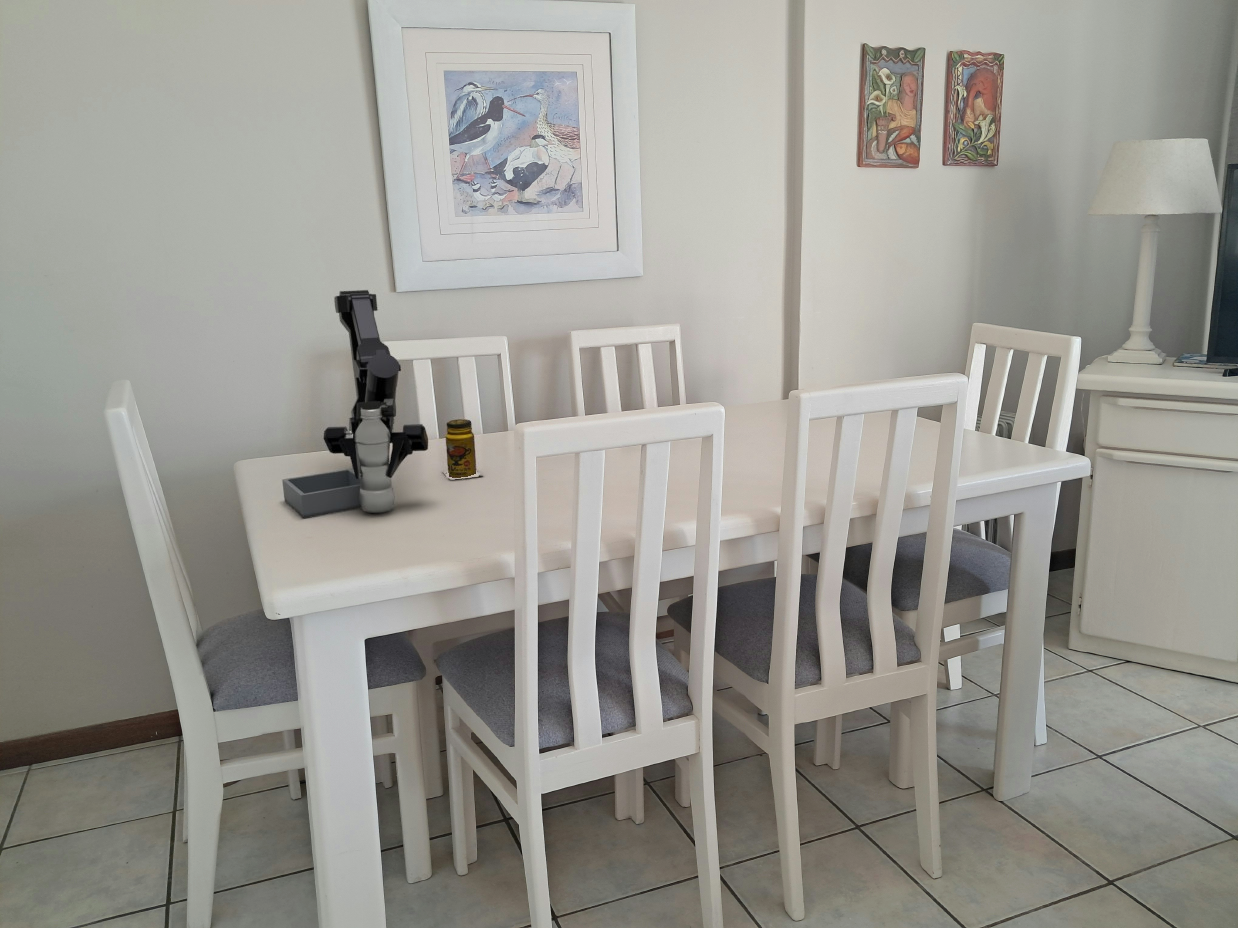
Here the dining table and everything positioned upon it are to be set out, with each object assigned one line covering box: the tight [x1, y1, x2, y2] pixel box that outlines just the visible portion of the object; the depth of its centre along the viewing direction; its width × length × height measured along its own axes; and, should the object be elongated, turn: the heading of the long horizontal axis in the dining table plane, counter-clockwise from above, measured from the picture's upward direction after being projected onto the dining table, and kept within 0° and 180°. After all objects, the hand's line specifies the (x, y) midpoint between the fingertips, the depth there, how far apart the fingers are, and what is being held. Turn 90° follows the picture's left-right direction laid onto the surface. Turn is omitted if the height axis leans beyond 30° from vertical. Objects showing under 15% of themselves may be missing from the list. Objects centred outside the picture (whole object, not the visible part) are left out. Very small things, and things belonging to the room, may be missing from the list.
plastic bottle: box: [355, 407, 396, 514], centre depth 173 cm, size 6×7×20 cm
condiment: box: [445, 418, 477, 478], centre depth 199 cm, size 7×8×12 cm
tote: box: [281, 468, 363, 519], centre depth 181 cm, size 14×14×4 cm
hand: (373, 477), depth 173 cm, fingers closed on plastic bottle, 6 cm apart
